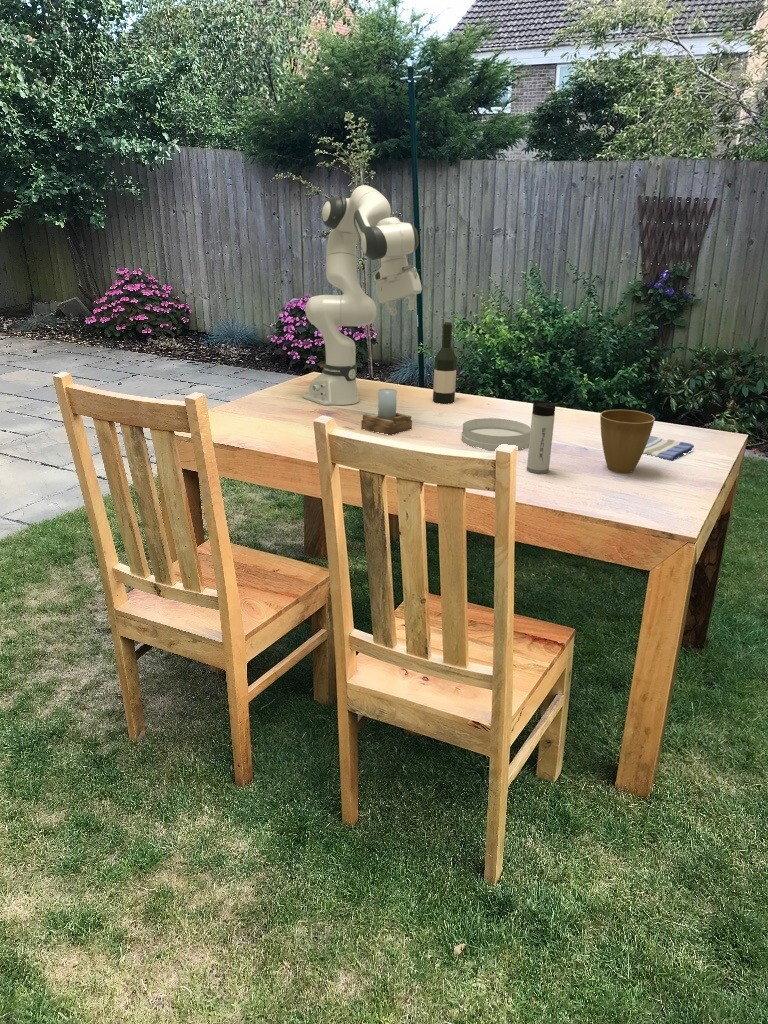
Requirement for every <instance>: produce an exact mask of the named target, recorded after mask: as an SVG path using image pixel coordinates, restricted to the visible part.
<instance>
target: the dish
mask: <svg viewBox="0 0 768 1024" xmlns="http://www.w3.org/2000/svg"><path fill="white" fill-rule="evenodd" d="M530 430H531V426H529V425H527V424H525V423H523V422H521V421H517V420H511V419H506V418H493V417H492V418H491V417H489V418H488V417H487V418H485V417H484V418H474V419H470V420H467V421H465V422H463V423H462V431H461V438H460V440H462V441H461V442H462V443H463V444H464V443H466V444H467V445H466V444H465V445H466V446H468V445H469V446H468V447H471V446H474V447H479V448H482V449H485V450H484V451H491V452H496V451H495V449H496V448H497V447H498V446H499V445H501V444H508V445H516V446H518V449H521V450H523V449H522V448H524V449H527V448H529V441H530ZM474 447H473V448H474ZM482 449H481V450H482Z"/></svg>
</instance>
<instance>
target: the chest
mask: <svg viewBox="0 0 768 1024" xmlns="http://www.w3.org/2000/svg"><path fill="white" fill-rule="evenodd" d="M360 422H361V425H360V427H361V428H360V429H361V430H363V429H365V430H364V431H367V430H370V431H369V432H371V431H374V432H373V433H375V432H379V433H384V434H388V435H391V436H393V435H392V434H394V435H396V433H397V434H400V433H399V432H401V433H404V432H407V431H409V430H410V429H411V430H413V420H412V416H411V415H408V414H403V413H400V412H396V417H394V418H393V421H391V420H387V419H383V418H379V417H378V415H376V416H373V415H370V414H363V415H362V420H361V421H360ZM403 431H404V432H403ZM379 433H378V434H379Z"/></svg>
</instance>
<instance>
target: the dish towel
mask: <svg viewBox="0 0 768 1024" xmlns="http://www.w3.org/2000/svg"><path fill="white" fill-rule="evenodd" d="M694 447H695V446H694V444H692V443H690V442H686V441H679V440H674V439H671V438H670V439H666V438H665V439H664V438H660V437H658V436H655V435H654V436H653V435H650V437H649V439H648V442H647V445H646V447H645V449H644V452H643V454H642V455H644V454H647V455H646V456H648V455H651V456H650V457H653V456H655V457H654V458H657V457H659V458H658V459H662V458H663V460H666V459H667V461H674V459H675V460H677V459H679V458H681V457H683V456H682V455H684V454H683V453H688V452H689V451H691V450H692V449H694ZM688 454H689V453H688ZM680 456H681V457H680ZM684 456H685V455H684ZM678 457H679V458H678Z"/></svg>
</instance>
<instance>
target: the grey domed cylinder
mask: <svg viewBox="0 0 768 1024" xmlns="http://www.w3.org/2000/svg"><path fill="white" fill-rule="evenodd" d="M377 391H378V397H377V399H378V401H377V404H378V405H377V407H378V408H377V416H378V417H379V418H383V419H387V420H391V421H393V418H394V417H396V413H397V400H398V399H397V393H398V391H397V390H396V389H394V388H381V389H378V390H377Z"/></svg>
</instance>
